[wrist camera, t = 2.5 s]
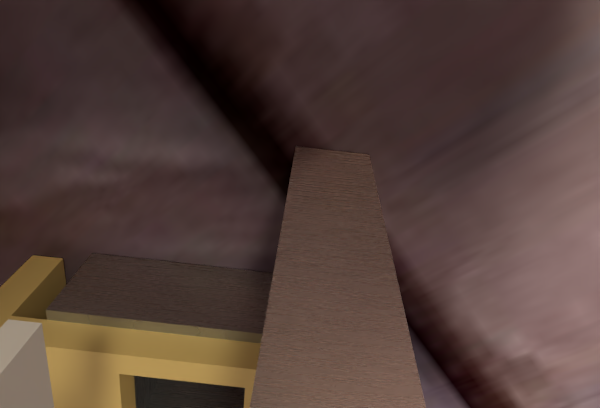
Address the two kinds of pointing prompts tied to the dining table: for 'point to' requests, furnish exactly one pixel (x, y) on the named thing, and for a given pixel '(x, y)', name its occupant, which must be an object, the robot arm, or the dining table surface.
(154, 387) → the gray post on base
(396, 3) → the dining table surface
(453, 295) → the dining table surface
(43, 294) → the bracket
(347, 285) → the pin
